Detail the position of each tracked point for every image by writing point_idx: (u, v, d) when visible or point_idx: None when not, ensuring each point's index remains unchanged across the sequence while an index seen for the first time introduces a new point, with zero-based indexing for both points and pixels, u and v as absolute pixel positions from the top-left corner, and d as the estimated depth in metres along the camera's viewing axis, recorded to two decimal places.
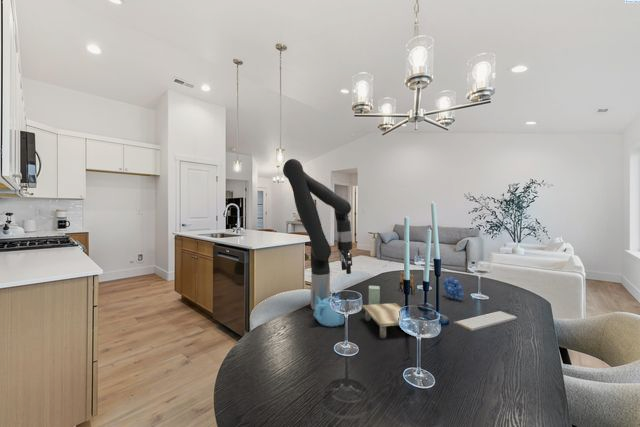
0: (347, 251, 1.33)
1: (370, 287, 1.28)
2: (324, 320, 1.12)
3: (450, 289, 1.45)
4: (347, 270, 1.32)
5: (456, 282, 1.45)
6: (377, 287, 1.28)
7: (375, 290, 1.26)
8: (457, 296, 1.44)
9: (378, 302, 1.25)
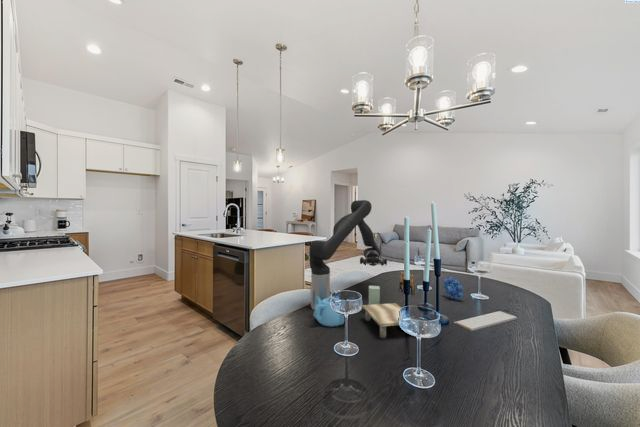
0: None
1: (370, 287, 1.28)
2: (324, 321, 1.12)
3: (450, 289, 1.45)
4: (383, 261, 1.40)
5: (456, 282, 1.45)
6: (377, 287, 1.28)
7: (375, 290, 1.26)
8: (457, 296, 1.44)
9: (378, 302, 1.25)
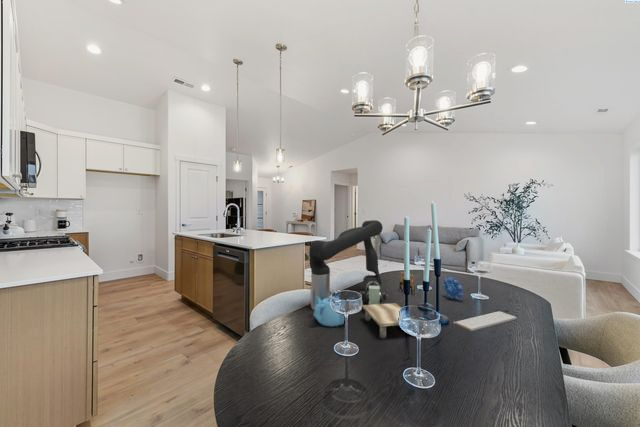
0: None
1: (370, 287, 1.28)
2: (324, 320, 1.12)
3: (450, 289, 1.45)
4: (381, 298, 1.27)
5: (456, 282, 1.45)
6: (377, 287, 1.28)
7: (375, 290, 1.26)
8: (457, 296, 1.44)
9: (378, 302, 1.25)
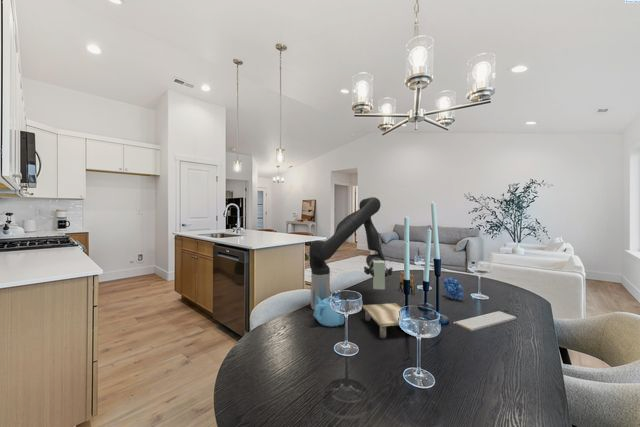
0: None
1: (375, 261, 1.23)
2: (324, 321, 1.12)
3: (450, 289, 1.45)
4: (386, 272, 1.22)
5: (456, 282, 1.45)
6: (382, 261, 1.23)
7: (380, 263, 1.20)
8: (457, 296, 1.44)
9: (383, 276, 1.20)
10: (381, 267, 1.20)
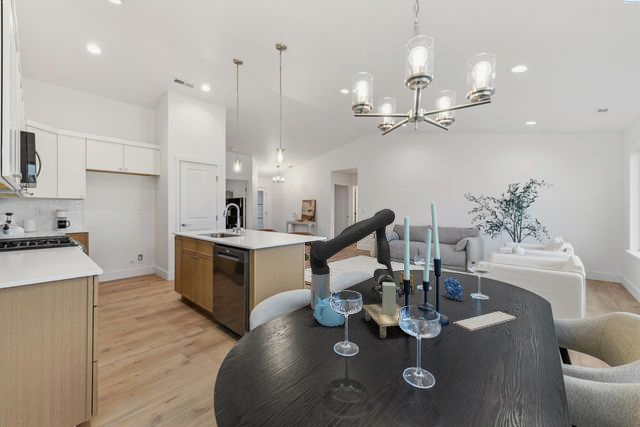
0: None
1: (384, 284, 1.12)
2: (324, 321, 1.12)
3: (450, 289, 1.45)
4: (400, 292, 1.11)
5: (456, 282, 1.45)
6: (392, 284, 1.12)
7: (390, 287, 1.10)
8: (457, 296, 1.44)
9: (394, 301, 1.10)
10: (391, 291, 1.10)
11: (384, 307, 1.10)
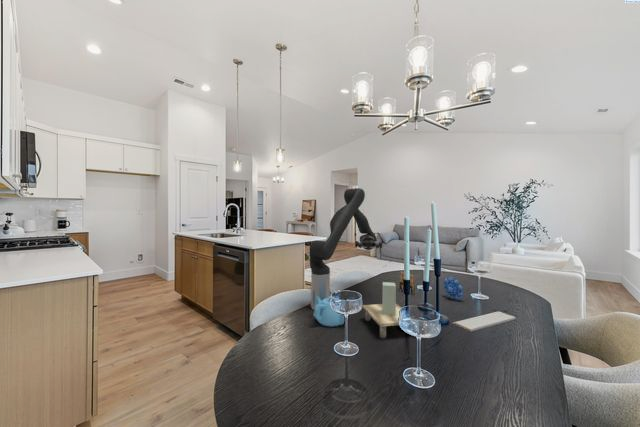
0: None
1: (384, 284, 1.12)
2: (324, 321, 1.12)
3: (450, 289, 1.45)
4: (378, 244, 1.40)
5: (456, 282, 1.45)
6: (392, 284, 1.12)
7: (390, 287, 1.10)
8: (457, 296, 1.44)
9: (394, 301, 1.10)
10: (391, 291, 1.10)
11: (384, 307, 1.10)
